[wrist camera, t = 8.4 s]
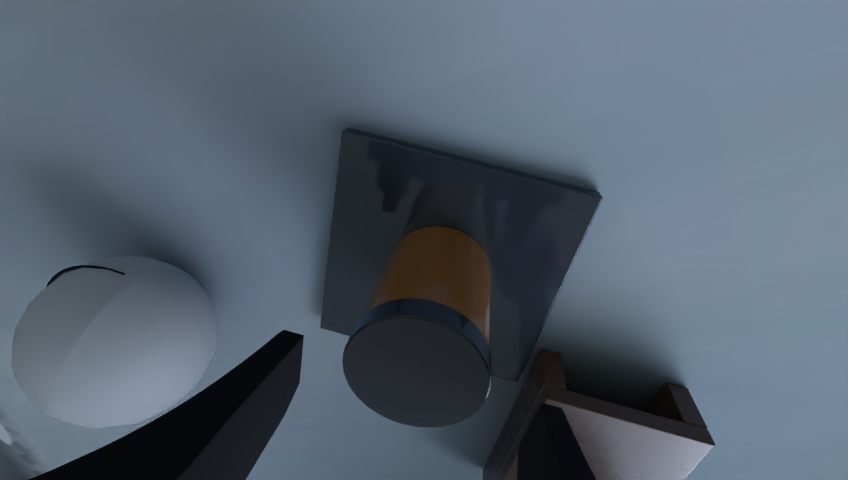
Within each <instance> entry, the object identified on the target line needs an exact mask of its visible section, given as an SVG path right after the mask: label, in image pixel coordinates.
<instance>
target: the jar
mask: <svg viewBox="0 0 848 480" xmlns="http://www.w3.org/2000/svg"><path fill="white" fill-rule="evenodd" d="M491 281H492V270H491V264H490V261H489V258H488V256H487V254H486V253H485V251H484V250H483V248H482V247H481V246H480V245H479V244H478V243H477V242H476V241H475V240H474V239H473V238H471V237H470V236H468V235H467V234H465V233H463V232H461V231H459V230H456V229H453V228H448V227H441V226H431V227H425V228H421V229H417V230H415V231H413V232H411V233H409V234H408V235H406V236H405V237H404V238H402V239H401V240H400V241H399V242H398V244H397V245H396V247H395V248H394V250H393V252H392V254H391V256H390V259H389V261H388V263H387V265H386V267H385V269H384V272H383V274H382V276H381V278H380V280H379V282H378V285H377V287H376V289H375V291H374V293H373V295H372V298H371V300H370V302H369V304H368V306H367V308H366V311H365V313H364V315H363V316H362V317H361V318H360V319H359V321H358V322H357V323H356V325H355V327H354V329H353V331H352V333H351V335H350V337H349V340H348V342H347V344H346V346H345V349H344V353H343V370H344V374H345V377H346V380H347V382H348V384H349V386H350V387H351V389H352V391H353V392H354V393H355V394H356V396H357V397H358V398H359V399H360V400H361V401H362V402H363V403H364V404H365V405H367V406H368V407H369V408H370V409H372V410H373V411H375V412H376V413H378V414H380V415H382V416H384V417H386V418H388V419H390V420H393V421H396V422H399V423H402V424H406V425H410V426H417V427H442V426H447V425H452V424H455V423H458V422H461V421H463V420H465V419H467V418H469V417H470V416H471V415H473V414H474V413H475V412H477V411H478V410H479V409H480V408H481V406H482V405H483V404H484V402H485V401H486V399H487V397H488V395H489V391H490V388H491V374H492V358H491V352H490V348H489V337H490V309H491Z"/></svg>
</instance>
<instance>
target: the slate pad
mask: <svg viewBox="0 0 848 480" xmlns="http://www.w3.org/2000/svg"><path fill="white" fill-rule="evenodd" d="M601 200H602V196H601V194H600V193H599V192H597V191H593V190H589V189H585V188H581V187H577V186H573V185H569V184H566V183H562V182H558V181H554V180H550V179H546V178H542V177H538V176H534V175H530V174H527V173H523V172H519V171H515V170H511V169H507V168H503V167H499V166H495V165H492V164H488V163H484V162H480V161H476V160H472V159H468V158H464V157H460V156H457V155H453V154H449V153H445V152H441V151H437V150H433V149H429V148H425V147H421V146H418V145H414V144H410V143H406V142H402V141H398V140H394V139H390V138H386V137H383V136H379V135H375V134H371V133H367V132H363V131H359V130H355V129H351V128H346V129H345V130H343V131H342V138H341V147H340V156H339V165H338V174H337V183H336V192H335V201H334V210H333V219H332V228H331V237H330V246H329V255H328V264H327V272H326V281H325V290H324V299H323V308H322V317H321V326H320V327H321V328H323V329H326V330H330V331H334V332H337V333H341V334H344V335H348V336H350V335H351V333H352V331H353V329H354V327H355V325H356V323H357V322H358V321H359V319H360V318H361V317H362V316H363V315H364V313H365V311H366V308H367V306H368V304H369V302H370V300H371V298H372V295H373V293H374V291H375V289H376V287H377V285H378V282H379V280H380V278H381V276H382V274H383V272H384V269H385V267H386V265H387V263H388V261H389V259H390V256H391V254H392V252H393V250H394V248H395V247H396V245H397V244H398V242H399V241H400V240H401V239H402V238H404V237H405V236H406V235H408V234H409V233H411V232H413V231H415V230H417V229H421V228H425V227H431V226H441V227H448V228H453V229H456V230H459V231H461V232H463V233H465V234H467V235H468V236H470V237H471V238H473V239H474V240H475V241H476V242H477V243H478V244H479V245H480V246H481V247H482V248H483V250H484V251H485V253H486V254H487V256H488V258H489V261H490V264H491V270H492V281H491V309H490V337H489V348H490V352H491V358H492V374H491V375H492V376H495V377H499V378H503V379H506V380H510V381H513V382H518V380H519V378H520V376H521V373H522V371H523V369H524V367H525V365H526V363H527V360H528V358H529V356H530V354H531V352H532V350H533V347H534V345H535V343H536V341H537V339H538V337H539V334H540V332H541V330H542V328H543V326H544V324H545V322H546V319H547V317H548V315H549V313H550V311H551V309H552V306H553V304H554V302H555V300H556V298H557V296H558V293H559V291H560V289H561V287H562V285H563V283H564V280H565V278H566V276H567V274H568V272H569V270H570V267H571V265H572V263H573V261H574V259H575V257H576V255H577V252H578V250H579V248H580V246H581V244H582V242H583V239H584V237H585V235H586V233H587V231H588V229H589V226H590V224H591V222H592V220H593V218H594V216H595V213H596V211H597V209H598V207H599V205H600V203H601Z"/></svg>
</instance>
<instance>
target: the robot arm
mask: <svg viewBox="0 0 848 480" xmlns="http://www.w3.org/2000/svg"><path fill="white" fill-rule="evenodd" d="M303 337H304V335H300V334H297V333H293V332H290V331H286V330H283V331H281V332H280V333H278V334H277V335H276V336H275V337H274V338H272V339H271V340H270V341H269V342H267V343H266V344H265V345H264V346H262V347H261V348H260V349H259V350H257V351H256V352H255V353H254V354H252V355H251V356H250V357H248V358H247V359H246V360H245V361H243V362H242V363H241V364H239V365H238V366H236V367H235V368H234V369H232V370H231V371H230V372H228V373H227V374H226V375H224V376H223V377H221V378H220V379H219V380H217V381H216V382H214V383H213V384H211V385H210V386H208V387H207V388H205V389H204V390H202V391H201V392H199V393H198V394H196V395H195V396H193V397H192V398H190V399H189V400H187V401H186V402H184V403H182V404H181V405H179V406H177V407H176V408H174V409H172V410H171V411H169V412H167V413H166V414H164V415H162V416H161V417H159V418H157V419H155V420H154V421H152V422H150V423H148V424H146V425H144V426H143V427H141V428H139V429H137V430H135V431H133V432H131V433H129V434H128V435H126V436H124V437H122V438H120V439H118V440H116V441H114V442H112V443H110V444H108V445H106V446H104V447H102V448H100V449H97V450H95V451H93V452H91V453H89V454H86V455H84V456H82V457H80V458H78V459H75V460H73V461H71V462H69V463H67V464H64V465H62V466H60V467H58V468H56V469H53V470H51V471H49V472H46V473H44V474H41V475H39V476H36V477H34V478H31V479H29V480H246V478H247V476H248V475H249V473H250V471H251V470H252V468H253V466H254V465H255V463H256V461H257V460H258V458H259V457H260V455H261V453H262V452H263V450H264V448H265V447H266V445H267V443H268V442H269V440H270V438H271V437H272V435H273V433H274V432H275V430H276V428H277V427H278V425H279V423H280V422H281V420H282V418H283V417H284V415H285V413H286V411H287V409H288V407H289V404H290V402H291V400H292V398H293V396H294V394H295V391H296V389H297V387H298V385H299V382H300V371H301V359H302V348H303ZM517 480H596V478H595V476H594V474H593V472H592V470H591V468H590V466H589V464H588V462H587V460H586V458H585V456H584V454H583V452H582V449H581V447H580V445H579V443H578V441H577V439H576V437H575V435H574V432H573V430H572V428H571V426H570V424H569V422H568V419H567V417H566V415H565V413H564V411H563V409H562V408H560V407H556V406H552V405H549V404H545V403H542V402H541V404H540V405H539V407H538V409H537V411H536V413H535V415H534V417H533V419H532V421H531V423H530V425H529V427H528V429H527V431H526V432H525V434H524V436H523V438H522V440H521V442H520V444H519V448H518V465H517Z"/></svg>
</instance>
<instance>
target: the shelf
mask: <svg viewBox="0 0 848 480" xmlns="http://www.w3.org/2000/svg"><path fill="white" fill-rule="evenodd" d="M541 402H542V403H545V404H549V405H552V406H556V407H560V408H562V409H563V411H564V413H565V415H566V417H567V419H568V422H569V424H570V426H571V428H572V430H573V432H574V435H575V437H576V439H577V441H578V443H579V445H580V447H581V449H582V452H583V454H584V456H585V458H586V460H587V462H588V464H589V466H590V468H591V470H592V472H593V474H594V476H595V478H596V480H685V479H686V477H687V476H688V475H689V474H690V473H691V472H692V471H693V470H694V469H695V468H696V466H697V465H698V464H699V463H700V462H701V461H702V460H703V459H704V458H705V456H706V455H707V454H708V453H709V452H710V451H711V450H712V449H713V448H714V446H715V443H714V441H713V439H712V437H711V435H710V433H709V431H708V430H707V426H706V424H705V422H704V420H703V418H702V416H701V414H700V412H699V410H698V408H697V406H696V405H695V403H694V401H693V399H692V397H691V395H690V393H689V391H688V389H687V388H684V387H681V386H677V385H673V384H670V383H666V384H665V386H664V387H663V389H662V390H661V391H660V393H659V394H658V396H657V397H656V398H655V400H654V401H653V403H652V404H651V405H650V407H649V408H648V409H647V411H646V412H643V411H640V410H636V409H633V408H629V407H625V406H622V405H618V404H615V403H611V402H607V401H604V400H600V399H597V398H593V397H589V396H586V395H582V394H579V393H575V392H571V391H568V390H567V387H566V381H565V375H564V370H563V364H562V358H561V355H560V354H559V353H555V352H551V351H548V350H544V349H541V350H540V352H539V354H538V356H537V358H536V360H535V363H534V365H533V367H532V369H531V371H530V373H529V375H528V377H527V379H526V381H525V384H524V386H523V388H522V390H521V392H520V394H519V396H518V398H517V400H516V402H515V405H514V407H513V409H512V411H511V413H510V415H509V417H508V419H507V421H506V424H505V426H504V428H503V430H502V432H501V434H500V436H499V438H498V440H497V442H496V445H495V447H494V449H493V451H492V453H491V455H490V457H489V459H488V461H487V463H486V466H485V468H484V470H483V480H517V465H518V448H519V444H520V442H521V440H522V438H523V436H524V434H525V432H526V431H527V429H528V427H529V425H530V423H531V421H532V419H533V417H534V415H535V413H536V411H537V409H538V407H539V405H540V404H541Z"/></svg>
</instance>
